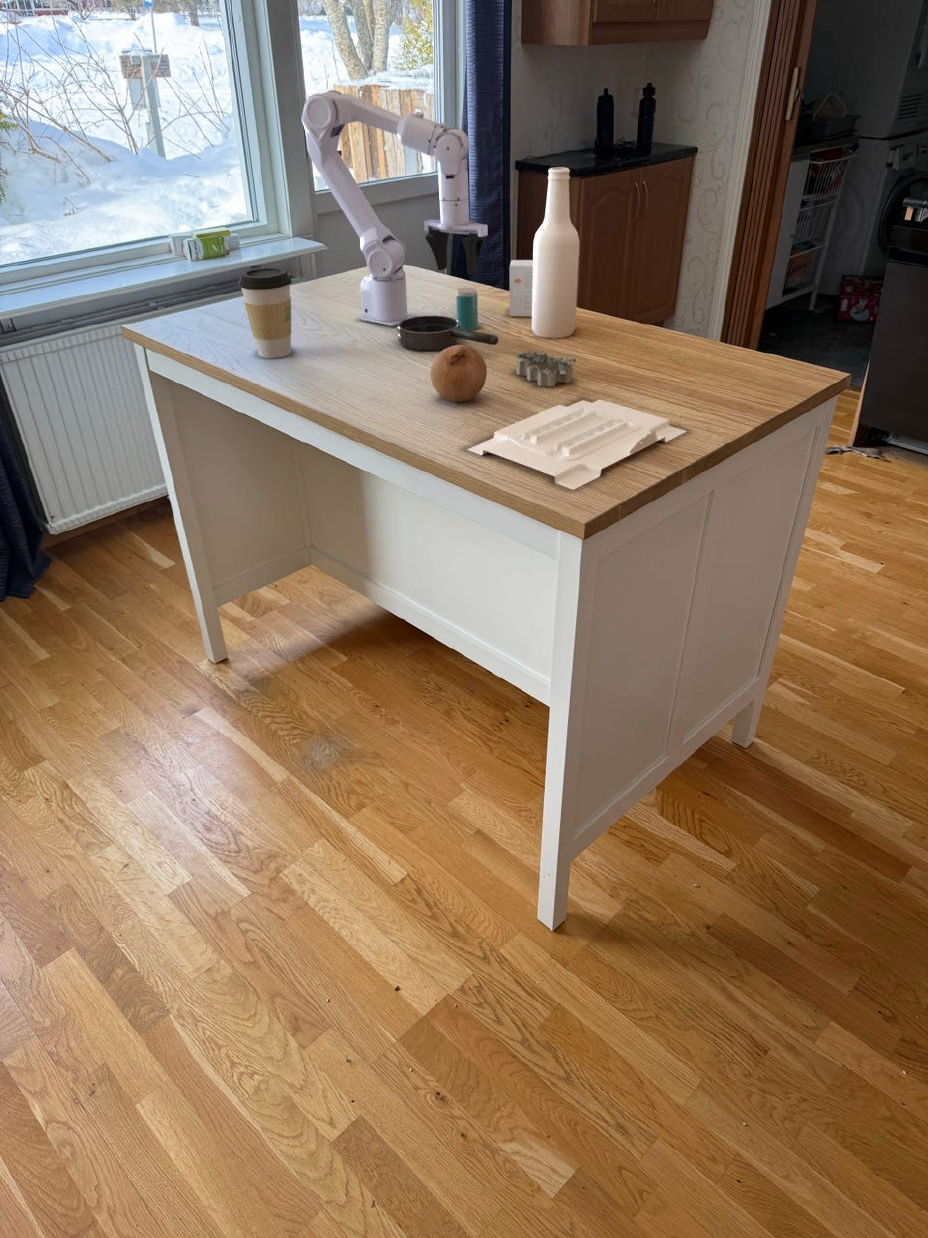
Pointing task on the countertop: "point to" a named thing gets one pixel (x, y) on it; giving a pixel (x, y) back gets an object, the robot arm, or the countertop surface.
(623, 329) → the countertop surface
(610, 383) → the countertop surface
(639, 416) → the tray
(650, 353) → the countertop surface
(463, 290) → the salt shaker
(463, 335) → the pan handle
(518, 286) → the small box
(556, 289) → the alcohol
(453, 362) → the onion
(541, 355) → the egg carton
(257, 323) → the coffee cup
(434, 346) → the pan
